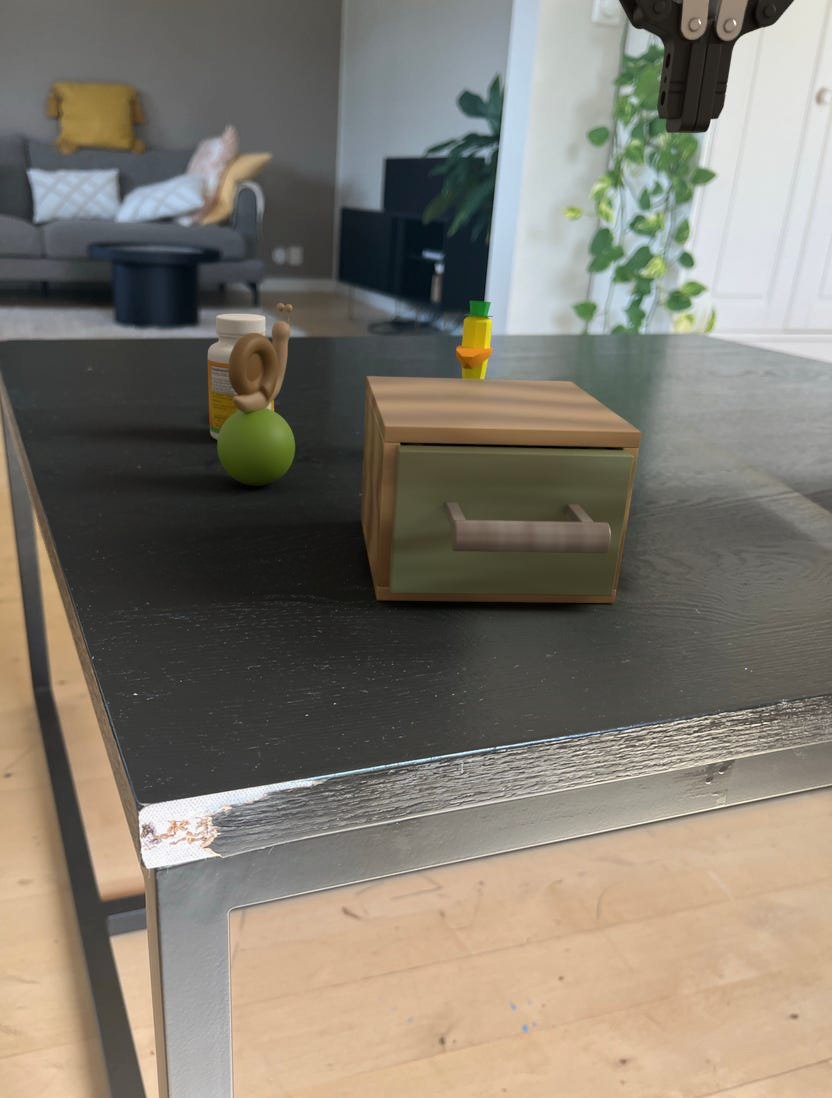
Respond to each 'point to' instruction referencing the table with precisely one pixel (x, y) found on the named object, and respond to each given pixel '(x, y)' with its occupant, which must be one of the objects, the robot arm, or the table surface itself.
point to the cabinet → (474, 419)
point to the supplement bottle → (218, 360)
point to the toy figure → (475, 341)
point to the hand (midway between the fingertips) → (687, 131)
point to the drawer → (507, 519)
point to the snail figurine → (257, 409)
